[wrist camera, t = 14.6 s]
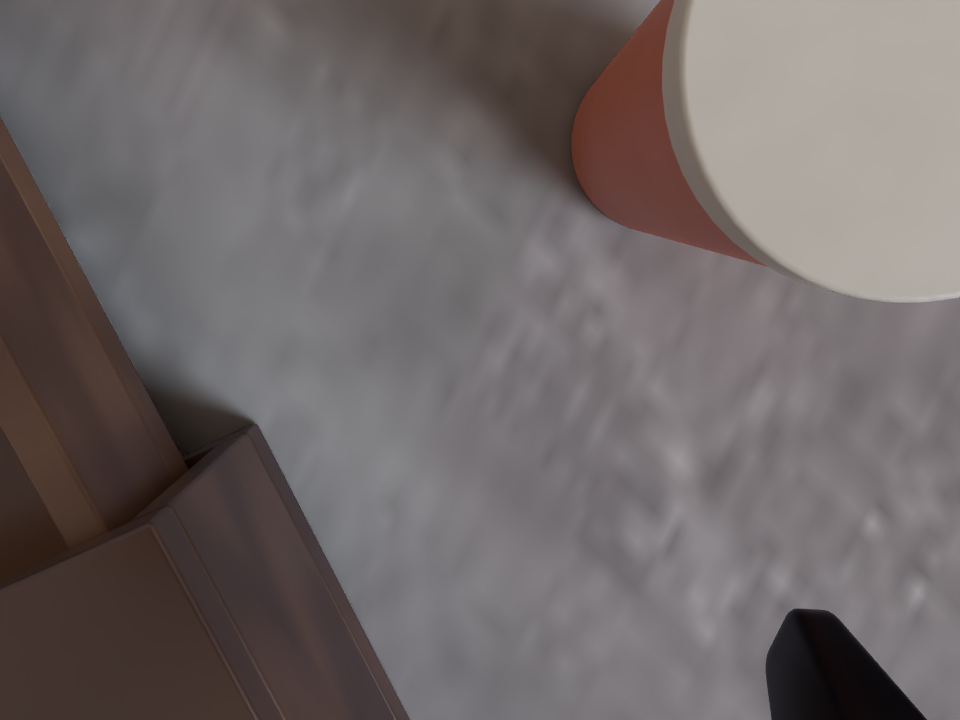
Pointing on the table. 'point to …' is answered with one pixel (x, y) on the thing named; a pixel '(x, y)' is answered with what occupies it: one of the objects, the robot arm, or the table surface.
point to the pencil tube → (789, 139)
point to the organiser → (193, 612)
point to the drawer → (64, 393)
